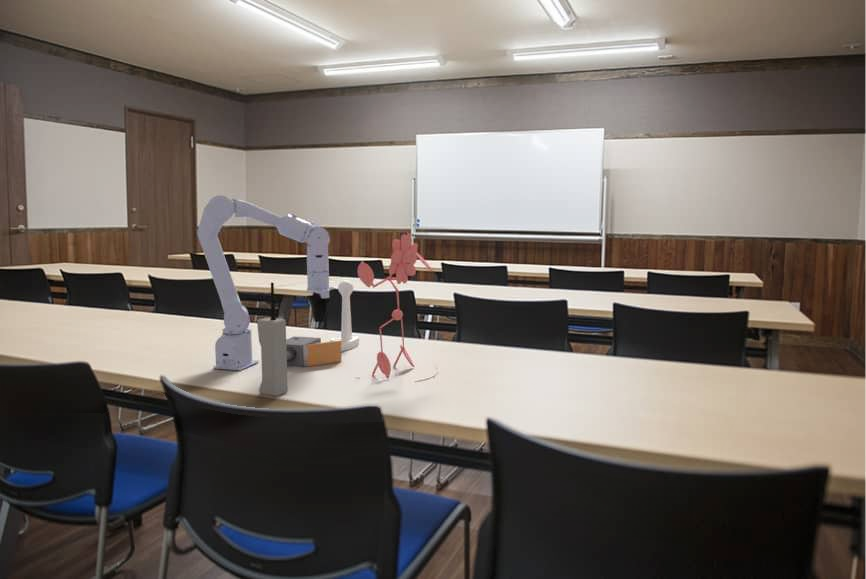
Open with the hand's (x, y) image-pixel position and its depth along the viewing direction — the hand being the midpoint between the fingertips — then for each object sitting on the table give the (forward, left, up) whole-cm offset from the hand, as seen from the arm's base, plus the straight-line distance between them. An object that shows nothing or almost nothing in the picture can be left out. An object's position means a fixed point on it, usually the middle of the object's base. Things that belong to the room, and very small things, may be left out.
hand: (319, 321), depth 174 cm
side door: (-5, -3, -10) cm, 12 cm away
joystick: (+16, +1, -11) cm, 19 cm away
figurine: (-8, -27, -11) cm, 30 cm away
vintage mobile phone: (-32, -4, -11) cm, 34 cm away
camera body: (-3, +5, -11) cm, 12 cm away
